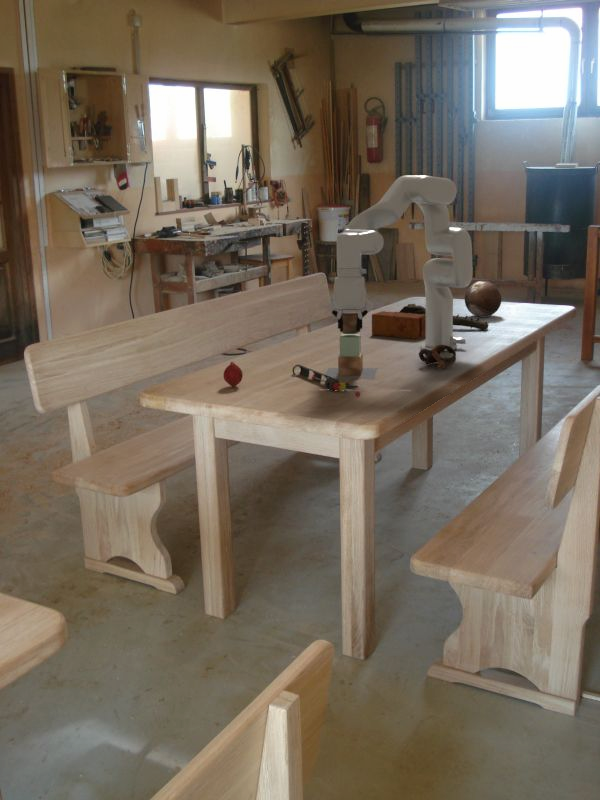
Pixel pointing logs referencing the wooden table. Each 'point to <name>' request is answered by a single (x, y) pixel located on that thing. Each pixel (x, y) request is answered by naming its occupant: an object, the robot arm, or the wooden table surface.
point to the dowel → (349, 323)
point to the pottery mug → (438, 356)
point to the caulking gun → (330, 382)
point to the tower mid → (350, 345)
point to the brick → (398, 325)
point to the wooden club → (456, 319)
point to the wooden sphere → (483, 298)
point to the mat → (366, 374)
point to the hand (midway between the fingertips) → (350, 330)
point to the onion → (233, 374)
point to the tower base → (350, 365)
